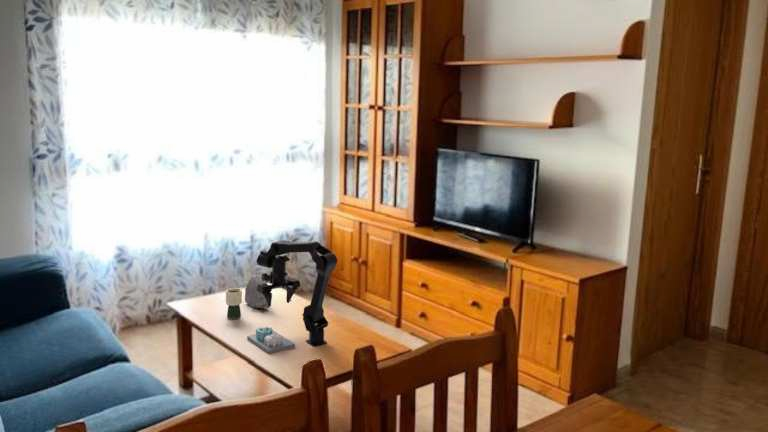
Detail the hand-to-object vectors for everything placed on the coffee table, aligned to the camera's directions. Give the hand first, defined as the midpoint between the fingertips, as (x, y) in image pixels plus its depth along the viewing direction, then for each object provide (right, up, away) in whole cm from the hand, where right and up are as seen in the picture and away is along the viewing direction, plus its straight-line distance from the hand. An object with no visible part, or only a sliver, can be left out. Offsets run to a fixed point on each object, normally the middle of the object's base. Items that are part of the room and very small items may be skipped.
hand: (278, 304), depth 280 cm
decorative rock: (-15, -5, +31) cm, 35 cm away
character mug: (-23, -8, +16) cm, 29 cm away
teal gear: (-5, -12, -9) cm, 16 cm away
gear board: (-2, -14, -11) cm, 18 cm away
